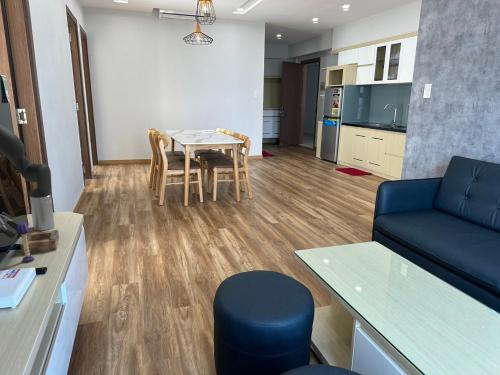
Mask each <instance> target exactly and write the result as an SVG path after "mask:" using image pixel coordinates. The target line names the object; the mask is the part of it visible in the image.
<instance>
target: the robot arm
mask: <svg viewBox="0 0 500 375" xmlns="http://www.w3.org/2000/svg"><path fill="white" fill-rule="evenodd" d="M0 149H1V151H0V152H1V154H2V155H3V156H4V157H6V158H7V159H8V160H9V161H10V163H11V164H12V165H13V166H14V167H15V168H16V170H17V171H18V172H19V174H20V175H21V177H23V179H24V180H25V181H27V182H30V183H36V187H35V188H33V189H32V188H31V189H30V190H29V199H30V208H31V209H30V212H31V218H32V219H31V220H32V227H33V229H34V230H35V231H38V232H42V231H49V230H51V229H54V228H55V218H54V217H55V216H54V207H53V200H52V173H51V168H50V166H49V165H47V164H45V163H33V162H31V161H30V160H29V159H28V158H27V156H26V154H25V152H26V148H25V145H24V142H23V141H22V140H21V139H20V138H19V136H18V135H16V134H15V132H13V131H12V130H10V129H9V128H8V127H6V126H5V125H3V124H1V123H0ZM2 214H3V215H2ZM2 214H0V234H3V235H5V236H6V237H8V238H10V239H14V238H15V237H16V235H17V233H15V232H14V231H12V230H11V229H9V228H7V227H6V225H7V226H9V227H11V228H12V229H13V230H15V231H16V230H17V224H18V223H17V222H16V221H14V217H12V215H10V214H8V213H6V212H5V211H3V212H2Z"/></svg>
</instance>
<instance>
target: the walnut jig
mask: <svg viewBox="0 0 500 375" xmlns="http://www.w3.org/2000/svg"><path fill="white" fill-rule="evenodd" d="M26 236H27V240H28V242H27V243H28V247H29V253H30V254H34V253H35V254H36V253H43V252H50V251H56V250H57V248H58V245H59V242H60V235H59V230H58V229H53V230H45V231H36V232H28V233H26ZM20 252H21V254H22V255H25V253H24V246H23V242H22V241H21V243H20Z"/></svg>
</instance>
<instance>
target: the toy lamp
mask: <svg viewBox="0 0 500 375" xmlns="http://www.w3.org/2000/svg"><path fill="white" fill-rule="evenodd" d="M29 227H30V226H28V224H27V222H26V221H20V222H18V223H17V230H15V231H16V233H15V234H16V235H21V239H22V241H21V242H23V246H24V253H25V254H24V257H23V258H22V260H21V262H22V263H24V264H25V263H26V264H27V263H31V262H34V260H35V258H34V256H33V255H31V253H29V247H28V243H27V242H28V240H27V236H26V233H31V230H30V228H29Z"/></svg>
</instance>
